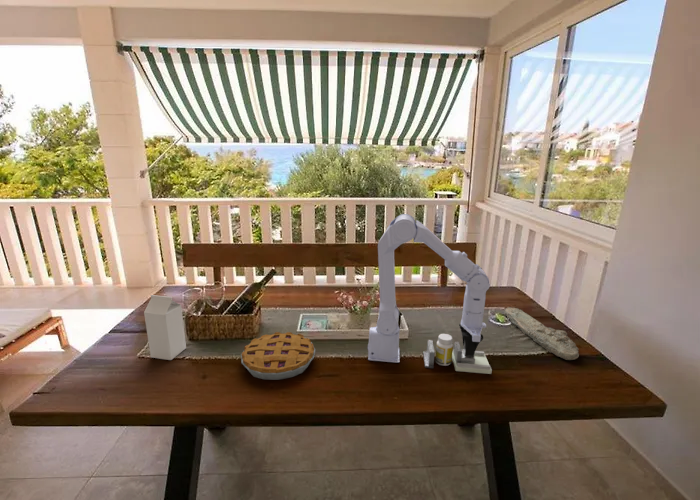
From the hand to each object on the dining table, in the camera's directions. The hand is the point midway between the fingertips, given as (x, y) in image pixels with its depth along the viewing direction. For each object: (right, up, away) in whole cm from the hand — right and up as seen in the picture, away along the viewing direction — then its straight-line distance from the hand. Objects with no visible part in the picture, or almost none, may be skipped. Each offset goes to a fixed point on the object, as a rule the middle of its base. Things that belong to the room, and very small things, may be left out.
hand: (468, 351), depth 105 cm
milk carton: (-92, -2, +4) cm, 92 cm away
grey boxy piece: (-1, -2, +1) cm, 3 cm away
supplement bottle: (-7, -4, +2) cm, 8 cm away
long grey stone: (+31, 0, +20) cm, 36 cm away
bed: (+1, -4, +1) cm, 4 cm away
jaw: (-11, -3, +2) cm, 12 cm away
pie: (-57, -4, +1) cm, 57 cm away
